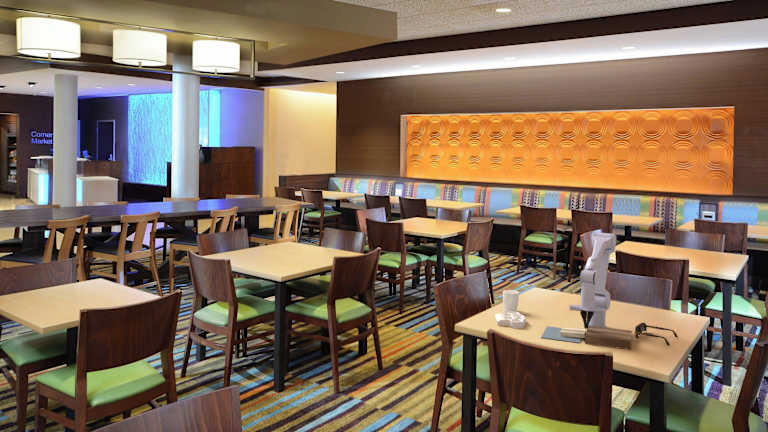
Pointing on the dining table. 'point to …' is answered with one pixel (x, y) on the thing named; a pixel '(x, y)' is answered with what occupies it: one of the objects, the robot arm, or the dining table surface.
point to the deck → (608, 337)
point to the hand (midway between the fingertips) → (586, 328)
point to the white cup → (510, 300)
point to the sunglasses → (643, 327)
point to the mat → (558, 335)
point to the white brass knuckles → (511, 319)
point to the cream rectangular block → (573, 332)
